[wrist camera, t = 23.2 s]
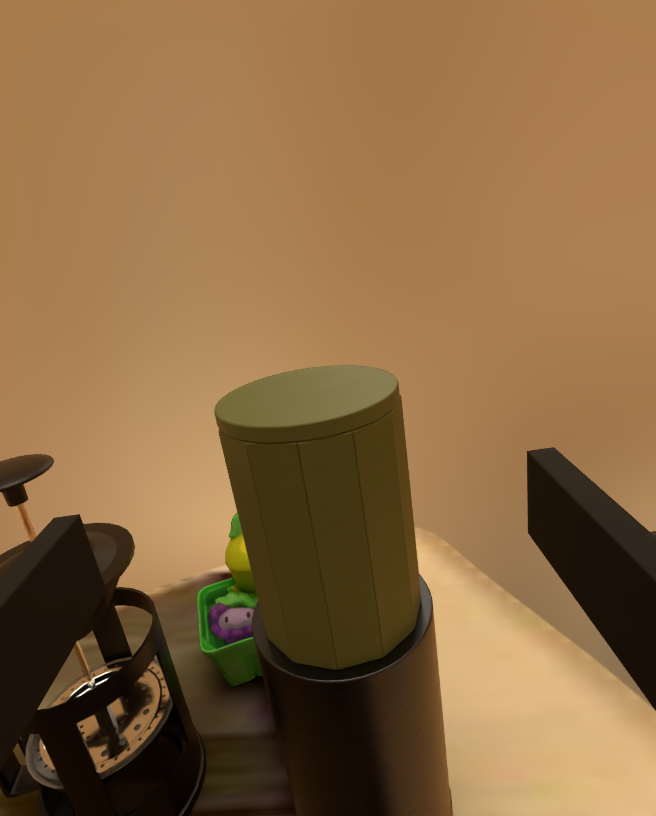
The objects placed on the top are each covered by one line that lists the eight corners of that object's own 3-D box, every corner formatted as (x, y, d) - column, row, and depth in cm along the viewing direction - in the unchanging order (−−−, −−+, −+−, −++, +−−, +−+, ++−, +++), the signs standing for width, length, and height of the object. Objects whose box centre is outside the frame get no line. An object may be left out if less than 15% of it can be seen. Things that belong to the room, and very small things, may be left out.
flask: (321, 962, 23) (231, 620, 16) (297, 784, 30) (230, 501, 24) (484, 904, 24) (462, 561, 17) (422, 746, 31) (390, 466, 25)
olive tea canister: (271, 690, 18) (210, 443, 15) (259, 574, 25) (215, 384, 21) (446, 641, 19) (427, 399, 16) (391, 542, 25) (369, 355, 22)
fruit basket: (215, 708, 36) (178, 583, 32) (209, 625, 44) (178, 518, 41) (360, 656, 39) (341, 534, 35) (328, 587, 47) (310, 482, 43)
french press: (217, 700, 37) (133, 414, 29) (215, 840, 28) (93, 485, 20) (52, 746, 35) (-82, 457, 28) (-5, 911, 26) (-225, 553, 19)
